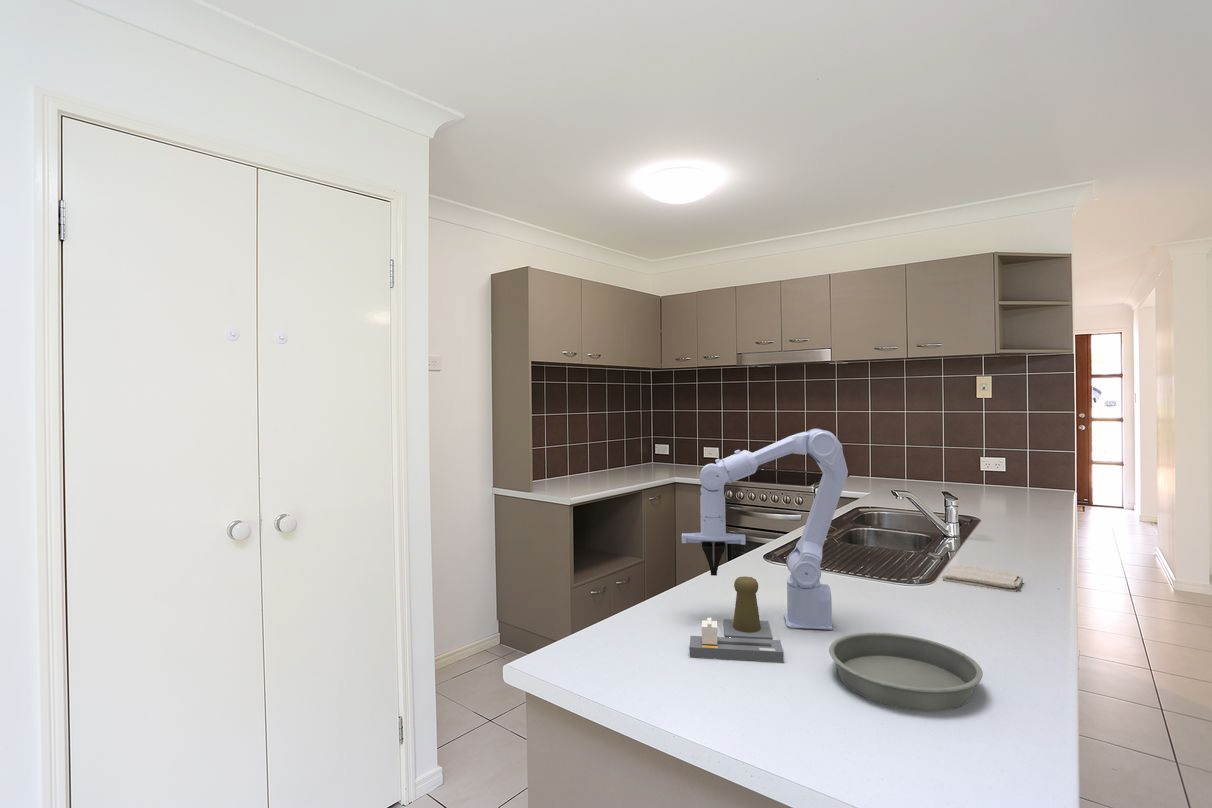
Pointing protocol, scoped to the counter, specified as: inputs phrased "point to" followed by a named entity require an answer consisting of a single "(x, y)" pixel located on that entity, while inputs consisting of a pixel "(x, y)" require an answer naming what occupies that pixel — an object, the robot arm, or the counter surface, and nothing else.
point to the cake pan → (905, 670)
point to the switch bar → (738, 649)
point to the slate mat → (761, 634)
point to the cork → (746, 605)
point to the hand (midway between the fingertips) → (713, 574)
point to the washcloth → (983, 578)
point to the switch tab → (709, 632)
